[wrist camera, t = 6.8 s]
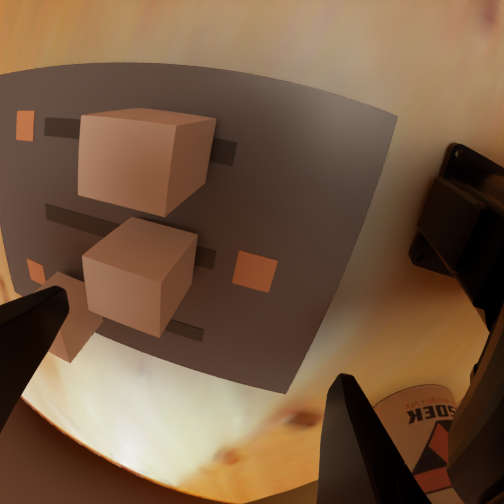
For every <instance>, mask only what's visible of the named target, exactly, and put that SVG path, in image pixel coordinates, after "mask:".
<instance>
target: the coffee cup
mask: <svg viewBox="0 0 504 504" xmlns="http://www.w3.org/2000/svg"><path fill="white" fill-rule="evenodd" d="M373 409H374V410H375V412H376V414H377V415H378V417H379V419H380V420H381V422H382V424H383V425H384V427H385V429H386V431H387V432H388V434H389V436H390V437H391V439H392V441H393V442H394V444H395V446H396V447H397V449H398V451H399V452H400V454H401V456H402V458H403V459H404V461H405V463H404V464H407V466H408V468H409V469H410V471H411V473H412V474H413V476H414V478H415V479H416V481H417V482H418V484H419V486H420V487H421V488H422V490H423V491H424V493H425V494H426V496H427V497H428V498H429V500H430V501H431V502H432V504H465V503H464V502H463V501H462V500H461V499H460V497H459V496H458V494H457V493H456V492H455V490H454V489H453V487H452V485H451V483H450V480H449V477H448V474H447V472H446V466H447V464H448V434H449V431H450V427H451V424H452V421H453V417H454V414H455V412H456V410H457V409H458V407H457V405H456V403H455V400H454V398H453V396H452V394H451V392H450V391H449V390H448V389H447V388H445V387H443V386H439V385H421V386H416V387H412V388H408V389H405V390H403V391H400V392H398V393H395V394H393V395H391V396H389V397H388V398H386V399H384V400H383V401H382V402H380V403H379V404H378V405H377V406H375V407H374V408H373Z"/></svg>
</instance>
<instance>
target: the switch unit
mask: <svg viewBox="0 0 504 504" xmlns="http://www.w3.org/2000/svg"><path fill="white" fill-rule="evenodd" d="M134 108H147V109H156V110H164V111H172V112H179V113H186V114H192V115H198V116H204V117H210V118H216V119H217V121H216V126H215V131H214V136H213V141H212V147H211V152H210V158H209V164H208V169H207V175H206V181H205V184H204V185H202V186H201V187H200V188H199V189H198V190H196V191H195V192H194V193H193V194H191V195H190V196H189V197H188V198H187V199H186V200H184V201H183V202H182V203H181V204H180V205H178V206H177V207H176V208H175V209H174V210H173V211H171V212H170V213H169V214H168V215H167V216H166V217H162V216H158V215H154V214H150V213H146V212H143V211H139V210H135V209H131V208H127V207H123V206H119V205H115V204H111V203H107V202H103V201H99V200H95V199H91V198H87V197H83V196H79V195H78V156H79V137H80V124H81V115H86V114H93V113H100V112H107V111H115V110H124V109H134ZM397 118H398V116H396V115H394V114H391V113H389V112H386V111H383V110H381V109H378V108H375V107H372V106H370V105H367V104H364V103H361V102H358V101H355V100H352V99H349V98H346V97H343V96H339V95H336V94H333V93H329V92H326V91H322V90H319V89H315V88H311V87H307V86H304V85H300V84H295V83H291V82H287V81H283V80H278V79H273V78H269V77H264V76H258V75H253V74H247V73H242V72H235V71H229V70H222V69H215V68H207V67H198V66H187V65H175V64H160V63H88V64H73V65H62V66H53V67H44V68H37V69H30V70H24V71H18V72H12V73H7V74H2V75H0V226H1V232H2V238H3V243H4V248H5V253H6V258H7V262H8V266H9V271H10V275H11V279H12V283H13V286H14V290H15V292H16V293H18V294H20V295H22V296H23V297H24V296H27V295H29V294H32V293H34V292H35V291H36V290H37V289H38V288H39V287H40V286H41V285H43V284H44V283H45V282H46V281H47V280H48V279H49V278H51V277H52V276H53V275H54V274H55V273H56V272H60V273H63V274H65V275H67V276H70V277H72V278H75V279H77V280H80V281H82V282H84V283H85V280H84V272H83V262H82V255H83V254H84V253H86V252H87V251H88V250H89V249H91V248H92V247H93V246H94V245H96V244H97V243H98V242H99V241H101V240H102V239H103V238H104V237H106V236H107V235H108V234H110V233H111V232H112V231H113V230H115V229H116V228H117V227H119V226H120V225H121V224H123V223H124V222H125V221H127V220H128V219H129V218H131V217H134V218H138V219H142V220H146V221H149V222H153V223H157V224H161V225H164V226H168V227H172V228H176V229H179V230H183V231H187V232H191V233H194V234H198V239H197V246H196V253H195V261H194V268H193V276H192V284H191V286H190V287H189V289H188V291H187V292H186V294H185V296H184V297H183V299H182V301H181V302H180V304H179V306H178V307H177V309H176V311H175V313H174V314H173V316H172V318H171V319H170V321H169V323H168V324H167V326H166V328H165V330H164V331H163V333H162V335H161V336H160V338H158V337H155V336H153V335H150V334H147V333H144V332H142V331H139V330H136V329H134V328H131V327H128V326H126V325H123V324H121V323H118V322H116V321H113V320H111V319H108V318H106V317H103V316H102V319H103V322H102V323H101V325H100V326H99V327H98V328H97V330H96V331H95V333H98V334H100V335H102V336H104V337H107V338H109V339H112V340H114V341H116V342H119V343H121V344H124V345H126V346H129V347H131V348H134V349H136V350H139V351H141V352H144V353H147V354H149V355H152V356H155V357H158V358H160V359H163V360H166V361H169V362H172V363H175V364H178V365H181V366H184V367H187V368H190V369H193V370H196V371H199V372H203V373H206V374H209V375H212V376H216V377H219V378H223V379H226V380H230V381H234V382H237V383H241V384H245V385H249V386H253V387H257V388H261V389H265V390H269V391H273V392H278V393H282V394H286V393H287V391H288V389H289V387H290V385H291V383H292V381H293V380H294V378H295V376H296V374H297V372H298V370H299V368H300V366H301V364H302V362H303V360H304V358H305V356H306V354H307V352H308V350H309V348H310V346H311V344H312V342H313V340H314V338H315V336H316V334H317V331H318V329H319V327H320V325H321V323H322V321H323V319H324V316H325V314H326V312H327V310H328V308H329V305H330V303H331V301H332V299H333V296H334V294H335V292H336V290H337V287H338V285H339V283H340V280H341V278H342V276H343V273H344V271H345V268H346V266H347V264H348V261H349V259H350V256H351V254H352V251H353V249H354V246H355V244H356V241H357V238H358V236H359V233H360V231H361V228H362V225H363V223H364V220H365V217H366V214H367V212H368V209H369V206H370V203H371V200H372V198H373V195H374V192H375V189H376V186H377V183H378V180H379V177H380V174H381V171H382V168H383V165H384V162H385V158H386V155H387V152H388V149H389V145H390V142H391V139H392V135H393V132H394V128H395V125H396V121H397Z"/></svg>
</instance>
